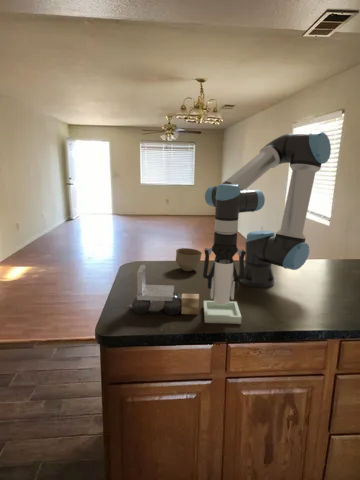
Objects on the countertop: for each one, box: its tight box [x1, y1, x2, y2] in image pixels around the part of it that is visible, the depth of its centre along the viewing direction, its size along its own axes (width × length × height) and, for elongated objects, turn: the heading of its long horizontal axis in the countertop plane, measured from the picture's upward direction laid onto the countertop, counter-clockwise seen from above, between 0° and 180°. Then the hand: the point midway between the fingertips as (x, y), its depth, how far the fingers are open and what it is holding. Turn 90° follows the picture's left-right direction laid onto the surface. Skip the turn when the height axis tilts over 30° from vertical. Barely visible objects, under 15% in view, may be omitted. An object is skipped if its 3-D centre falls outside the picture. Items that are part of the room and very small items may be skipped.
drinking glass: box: [213, 259, 235, 305], centre depth 107 cm, size 7×7×15 cm
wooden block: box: [180, 293, 200, 315], centre depth 112 cm, size 6×4×6 cm, turn 88°
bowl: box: [175, 247, 203, 272], centre depth 155 cm, size 13×13×10 cm
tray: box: [202, 300, 243, 325], centre depth 110 cm, size 12×12×2 cm
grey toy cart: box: [131, 264, 182, 316], centre depth 111 cm, size 17×10×16 cm, turn 88°
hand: (221, 297), depth 108 cm, fingers closed on drinking glass, 6 cm apart
